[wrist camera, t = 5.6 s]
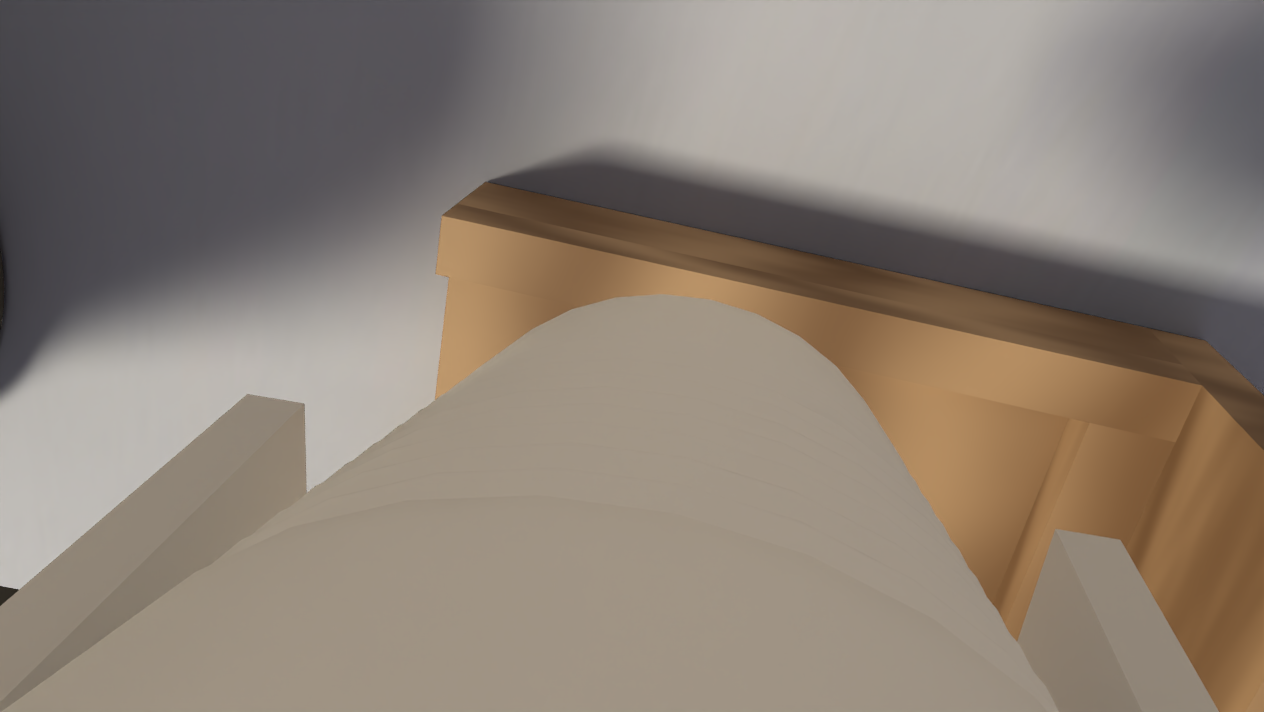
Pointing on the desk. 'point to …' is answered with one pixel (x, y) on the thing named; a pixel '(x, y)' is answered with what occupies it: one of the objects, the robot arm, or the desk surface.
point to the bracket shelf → (943, 401)
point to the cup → (590, 552)
